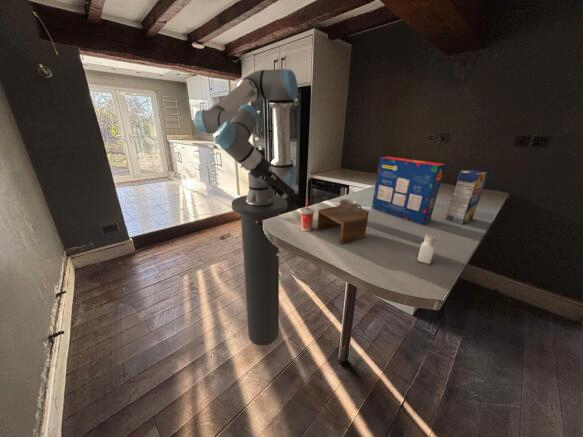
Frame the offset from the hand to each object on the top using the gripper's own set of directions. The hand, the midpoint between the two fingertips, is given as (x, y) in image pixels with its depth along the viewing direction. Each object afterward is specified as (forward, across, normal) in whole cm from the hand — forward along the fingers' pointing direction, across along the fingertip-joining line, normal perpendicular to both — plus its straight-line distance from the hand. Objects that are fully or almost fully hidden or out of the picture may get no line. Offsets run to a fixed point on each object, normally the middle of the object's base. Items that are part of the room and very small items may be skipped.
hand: (291, 198), depth 93 cm
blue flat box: (+55, +8, +33) cm, 65 cm away
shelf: (+24, +10, +3) cm, 27 cm away
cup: (+37, -2, +15) cm, 40 cm away
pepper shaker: (+32, +41, +11) cm, 53 cm away
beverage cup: (+17, 0, -5) cm, 18 cm away
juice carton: (+71, +27, +49) cm, 90 cm away
